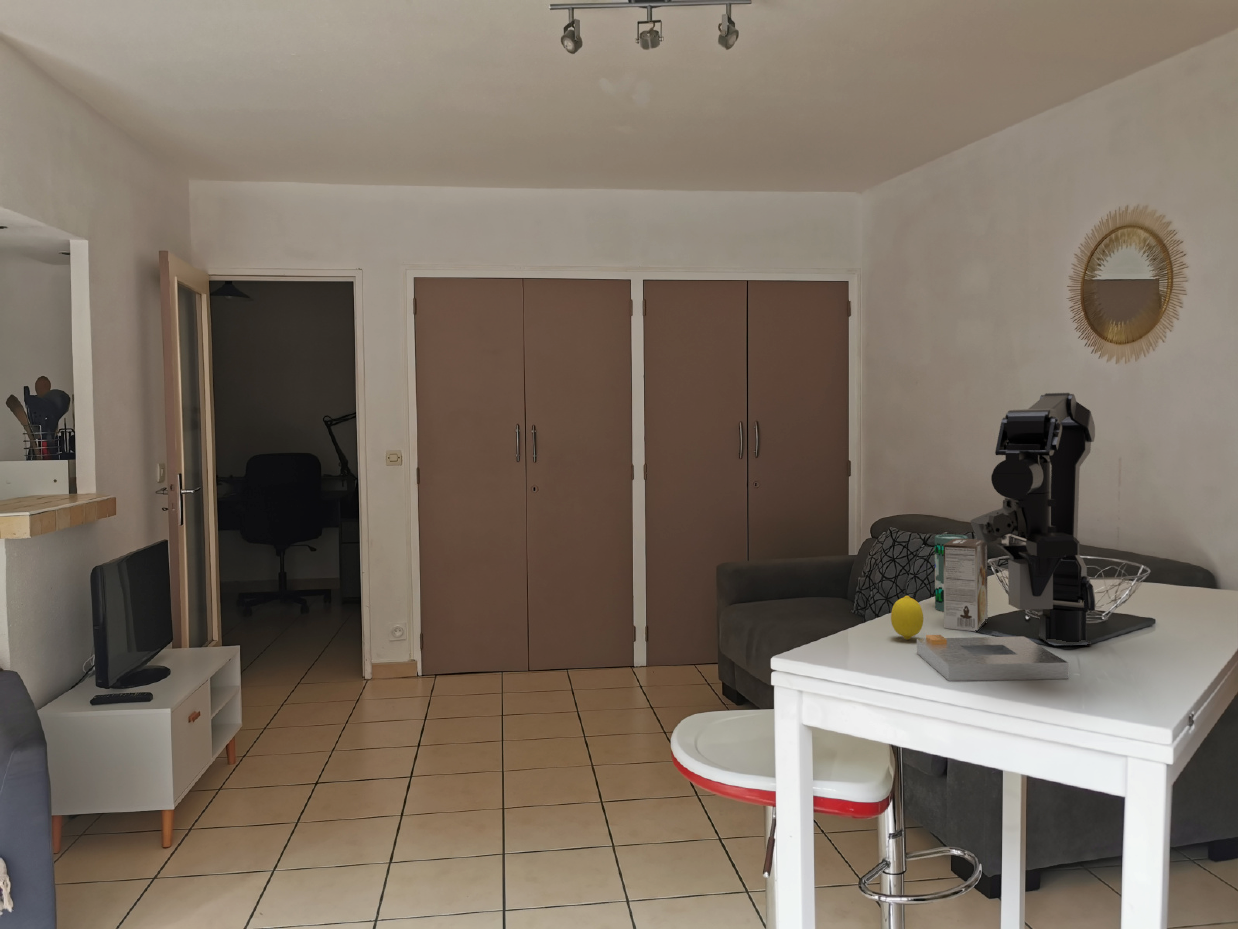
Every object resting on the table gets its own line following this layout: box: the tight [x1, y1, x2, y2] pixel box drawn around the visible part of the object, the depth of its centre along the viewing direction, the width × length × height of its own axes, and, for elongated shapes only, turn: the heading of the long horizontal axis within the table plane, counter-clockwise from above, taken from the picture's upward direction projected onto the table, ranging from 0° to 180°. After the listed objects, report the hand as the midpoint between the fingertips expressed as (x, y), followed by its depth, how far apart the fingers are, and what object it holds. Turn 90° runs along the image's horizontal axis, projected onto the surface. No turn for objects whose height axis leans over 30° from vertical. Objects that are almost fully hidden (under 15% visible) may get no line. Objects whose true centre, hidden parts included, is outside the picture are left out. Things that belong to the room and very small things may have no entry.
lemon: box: [890, 595, 924, 641], centre depth 163 cm, size 6×6×8 cm
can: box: [934, 534, 969, 613], centre depth 186 cm, size 6×6×15 cm
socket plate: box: [916, 634, 1069, 682], centre depth 146 cm, size 18×16×3 cm
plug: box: [1007, 559, 1053, 611], centre depth 139 cm, size 5×4×7 cm
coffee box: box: [943, 538, 989, 632], centre depth 172 cm, size 9×6×16 cm
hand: (1030, 593), depth 139 cm, fingers closed on plug, 4 cm apart
